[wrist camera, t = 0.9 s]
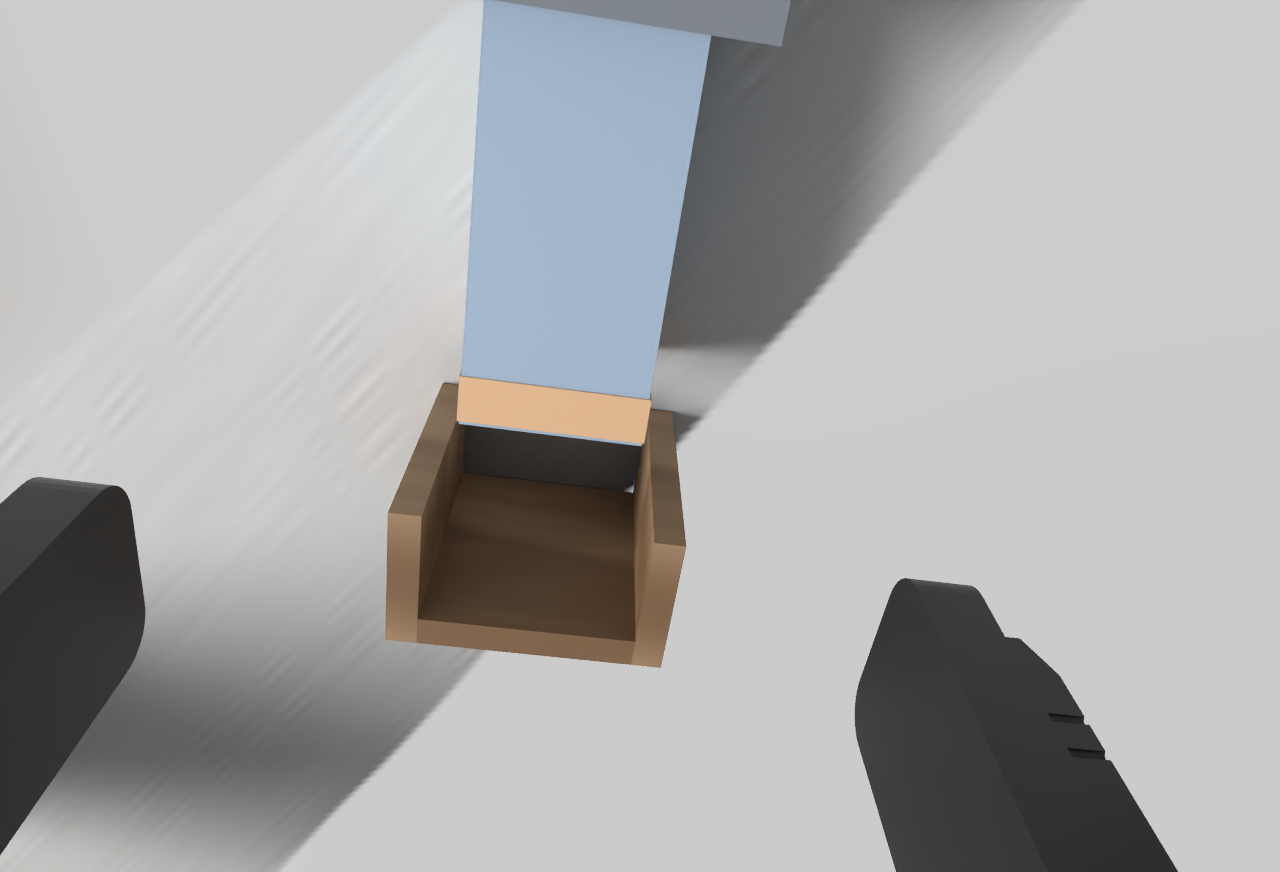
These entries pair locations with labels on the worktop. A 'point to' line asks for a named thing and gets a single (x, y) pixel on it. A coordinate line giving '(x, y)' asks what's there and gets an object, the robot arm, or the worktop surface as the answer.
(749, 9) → the blue-gray block
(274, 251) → the worktop surface
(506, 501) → the socket
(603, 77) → the tan-tipped blue bar
